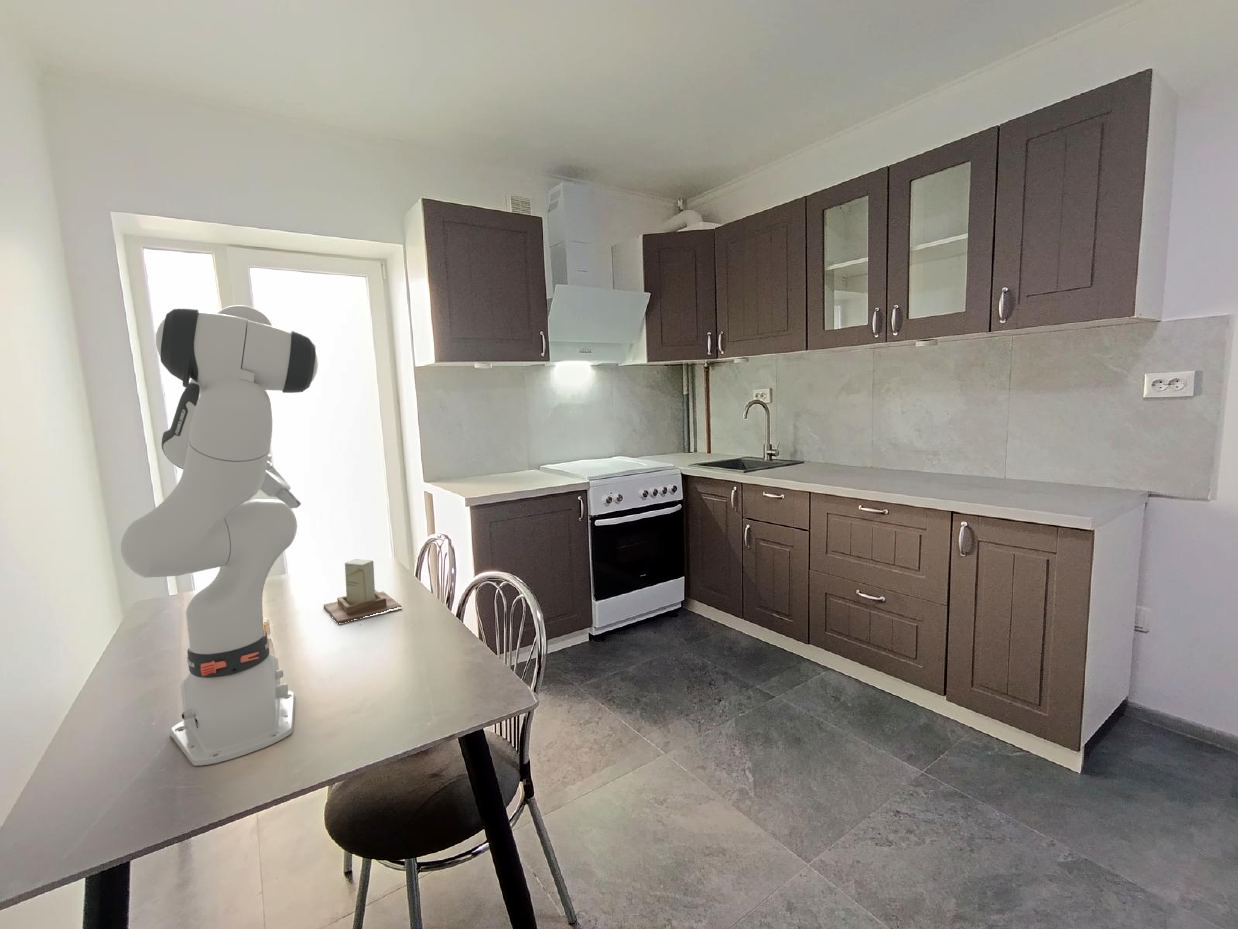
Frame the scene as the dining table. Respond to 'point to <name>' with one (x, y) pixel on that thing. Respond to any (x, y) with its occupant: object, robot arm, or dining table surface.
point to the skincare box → (359, 581)
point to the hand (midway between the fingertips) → (296, 506)
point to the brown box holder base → (360, 607)
